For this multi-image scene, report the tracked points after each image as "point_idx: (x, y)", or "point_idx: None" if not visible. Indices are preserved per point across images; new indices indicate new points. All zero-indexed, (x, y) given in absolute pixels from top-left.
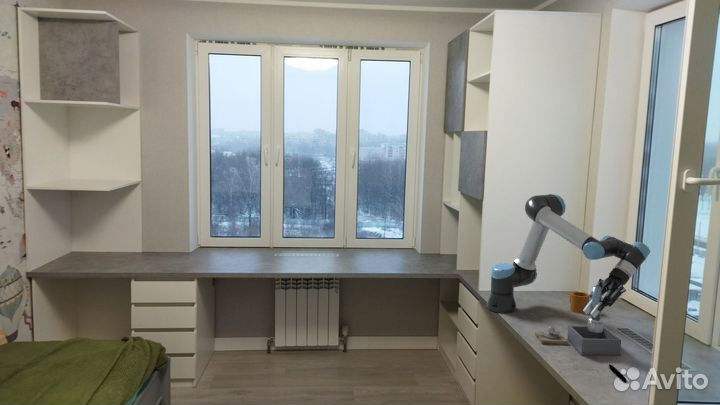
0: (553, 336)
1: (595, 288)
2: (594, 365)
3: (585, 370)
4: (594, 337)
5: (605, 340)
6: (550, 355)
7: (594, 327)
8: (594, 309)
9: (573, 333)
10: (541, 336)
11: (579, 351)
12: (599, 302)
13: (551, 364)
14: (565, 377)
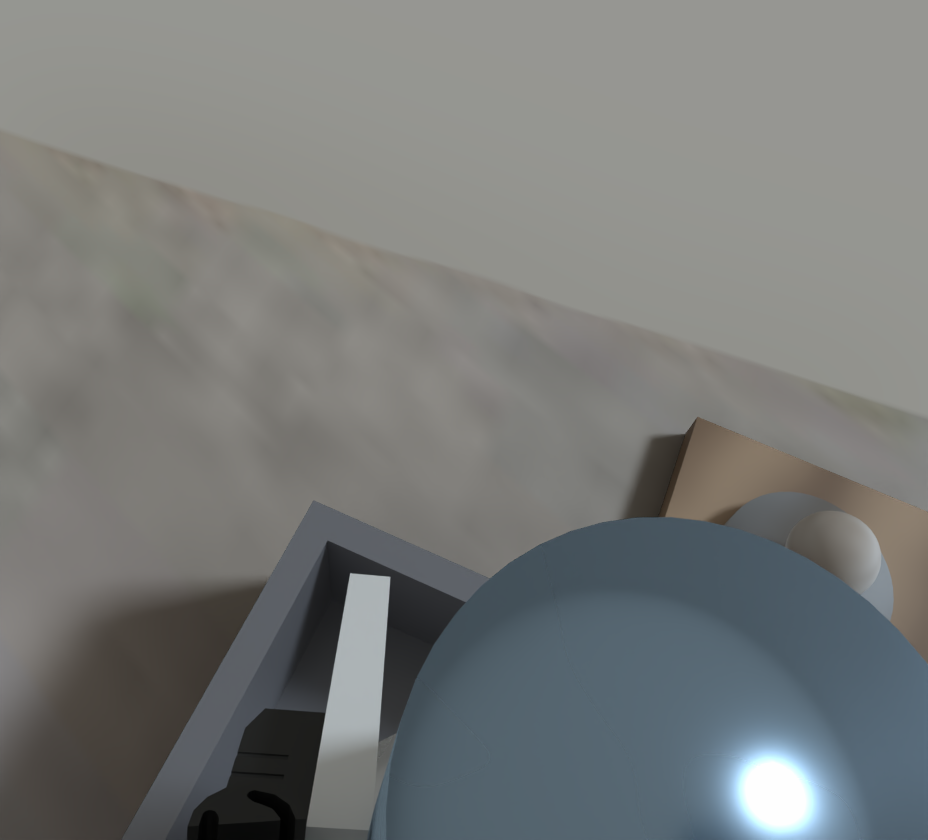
0: None
1: (580, 545)
2: (84, 511)
3: (64, 360)
4: None
5: (143, 803)
6: (444, 327)
7: None
8: (351, 639)
9: None
10: (806, 487)
11: None
12: (352, 810)
13: (299, 221)
14: (76, 157)
